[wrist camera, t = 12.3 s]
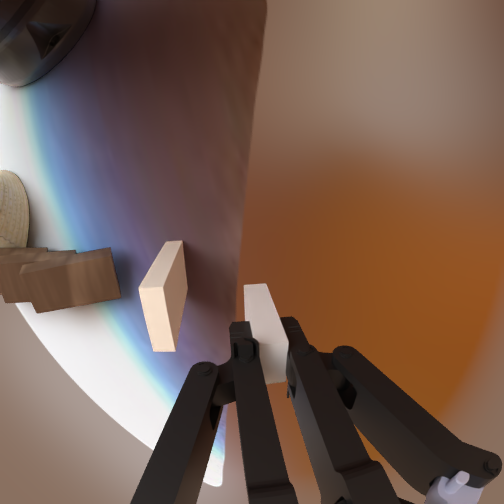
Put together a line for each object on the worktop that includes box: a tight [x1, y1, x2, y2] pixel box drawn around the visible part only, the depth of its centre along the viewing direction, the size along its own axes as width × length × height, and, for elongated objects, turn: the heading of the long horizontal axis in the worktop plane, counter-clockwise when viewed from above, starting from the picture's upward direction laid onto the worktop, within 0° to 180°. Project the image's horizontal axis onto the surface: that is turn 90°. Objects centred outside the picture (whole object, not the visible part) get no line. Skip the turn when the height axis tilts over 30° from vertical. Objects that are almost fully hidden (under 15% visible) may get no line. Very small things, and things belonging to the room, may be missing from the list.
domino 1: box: [0, 248, 48, 293], centre depth 20 cm, size 2×5×10 cm
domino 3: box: [19, 247, 121, 313], centre depth 22 cm, size 2×5×10 cm
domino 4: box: [139, 241, 188, 352], centre depth 21 cm, size 2×5×10 cm, turn 1°
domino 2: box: [0, 250, 76, 303], centre depth 21 cm, size 2×5×10 cm
